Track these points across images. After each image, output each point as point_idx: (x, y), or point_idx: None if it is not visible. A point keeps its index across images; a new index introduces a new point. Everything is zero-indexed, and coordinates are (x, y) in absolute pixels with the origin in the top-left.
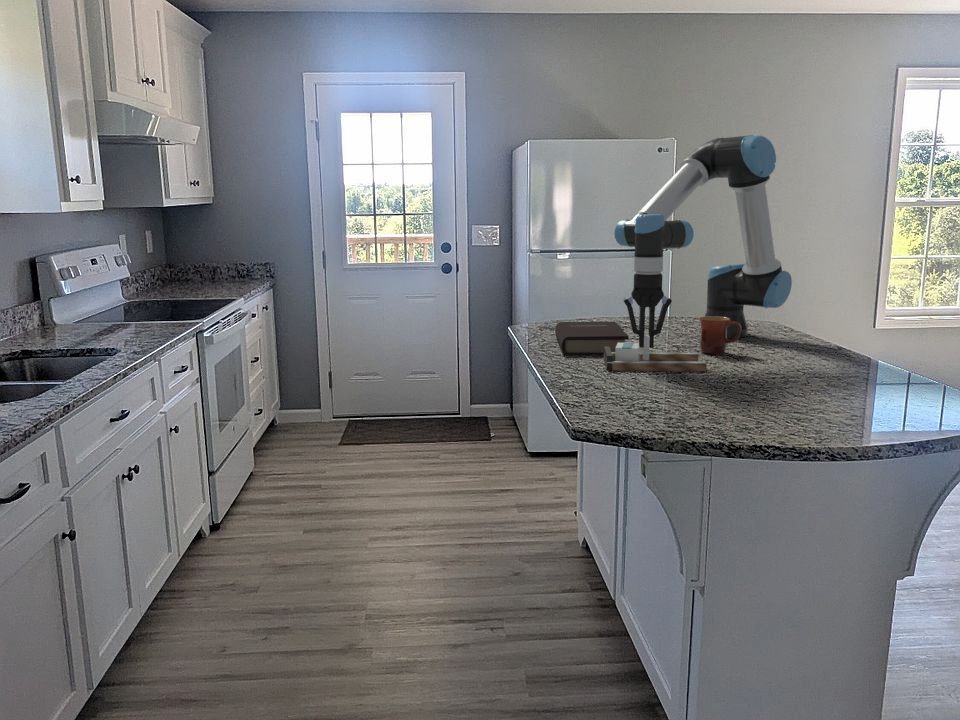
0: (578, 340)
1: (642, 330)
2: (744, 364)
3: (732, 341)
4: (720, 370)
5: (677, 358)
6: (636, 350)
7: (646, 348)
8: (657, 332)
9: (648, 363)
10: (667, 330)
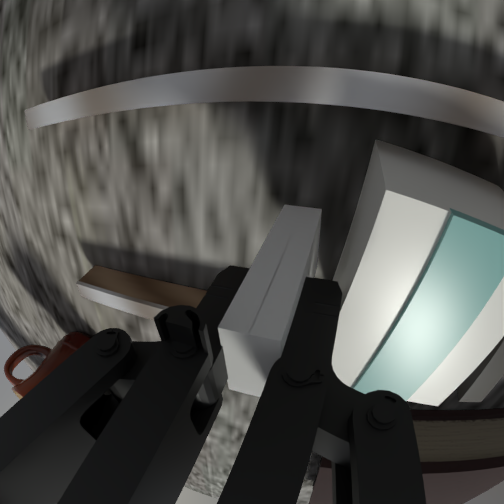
0: (497, 456)
1: (284, 415)
2: (8, 216)
3: (39, 345)
4: (26, 125)
5: (149, 288)
6: (399, 184)
7: (285, 254)
8: (122, 343)
9: (304, 67)
10: (209, 477)
